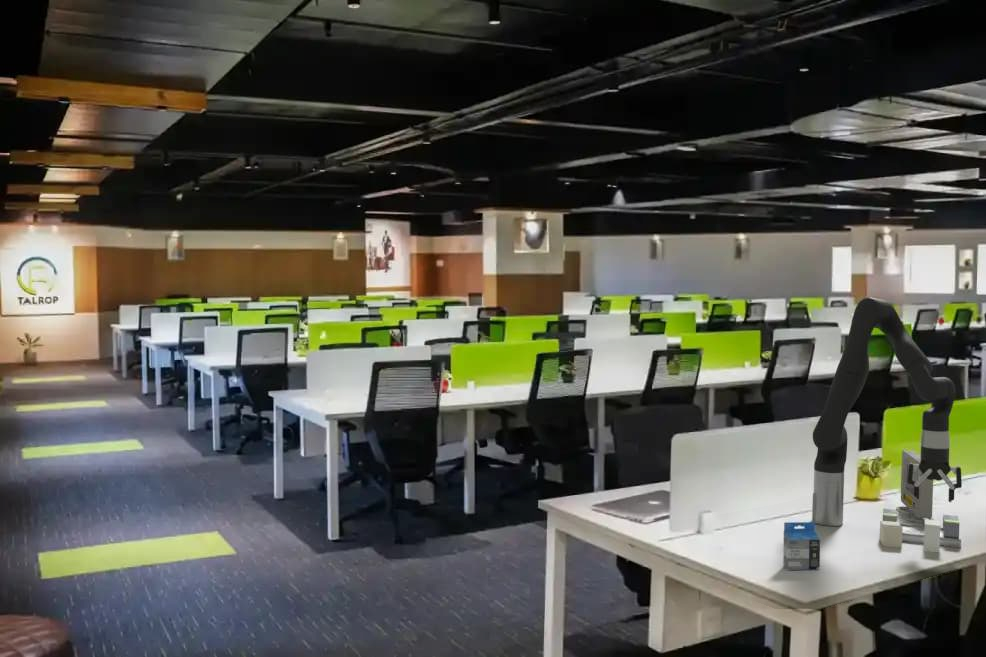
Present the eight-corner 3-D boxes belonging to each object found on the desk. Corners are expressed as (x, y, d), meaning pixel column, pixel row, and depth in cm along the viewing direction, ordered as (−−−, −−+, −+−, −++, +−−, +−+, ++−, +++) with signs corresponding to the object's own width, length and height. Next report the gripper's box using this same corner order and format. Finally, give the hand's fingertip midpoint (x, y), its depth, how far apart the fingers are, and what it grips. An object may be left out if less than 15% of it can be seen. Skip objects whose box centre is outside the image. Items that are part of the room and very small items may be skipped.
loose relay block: (883, 546, 267) (884, 525, 267) (879, 540, 274) (880, 520, 274) (901, 547, 266) (902, 527, 266) (897, 541, 273) (898, 521, 273)
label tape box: (788, 570, 243) (789, 525, 243) (782, 566, 247) (783, 521, 247) (819, 570, 244) (821, 525, 243) (813, 565, 248) (815, 521, 247)
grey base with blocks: (880, 538, 275) (880, 515, 275) (881, 528, 287) (881, 506, 287) (960, 547, 266) (961, 524, 266) (958, 536, 278) (959, 514, 278)
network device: (939, 525, 291) (941, 464, 290) (910, 524, 293) (912, 463, 292) (918, 506, 316) (920, 450, 315) (892, 505, 318) (893, 449, 317)
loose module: (923, 551, 263) (924, 524, 262) (923, 545, 268) (924, 519, 268) (939, 553, 261) (940, 525, 261) (938, 547, 267) (939, 521, 266)
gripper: (908, 445, 263) (907, 500, 263) (963, 449, 257) (961, 505, 258) (908, 441, 270) (906, 495, 270) (961, 445, 264) (960, 499, 265)
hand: (933, 500), depth 264 cm, fingers open, 8 cm apart
